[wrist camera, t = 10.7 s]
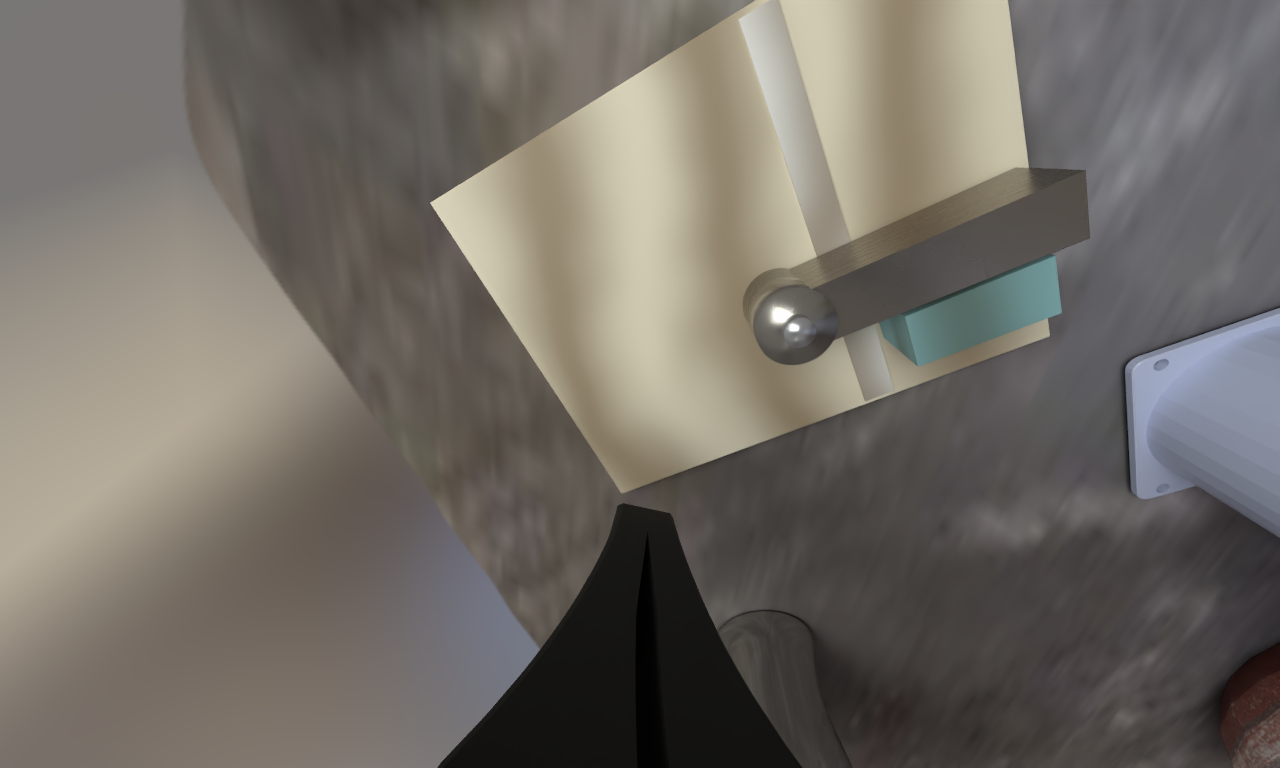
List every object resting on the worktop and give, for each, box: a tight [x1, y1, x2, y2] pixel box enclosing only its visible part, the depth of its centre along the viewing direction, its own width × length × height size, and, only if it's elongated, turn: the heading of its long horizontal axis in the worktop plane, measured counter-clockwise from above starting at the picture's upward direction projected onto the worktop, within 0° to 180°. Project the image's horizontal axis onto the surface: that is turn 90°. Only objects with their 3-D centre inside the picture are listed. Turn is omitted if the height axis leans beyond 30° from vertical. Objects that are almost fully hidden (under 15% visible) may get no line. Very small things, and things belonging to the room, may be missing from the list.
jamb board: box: [431, 0, 1062, 493], centre depth 16 cm, size 19×15×4 cm
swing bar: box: [743, 167, 1090, 365], centre depth 15 cm, size 10×3×3 cm, turn 116°
